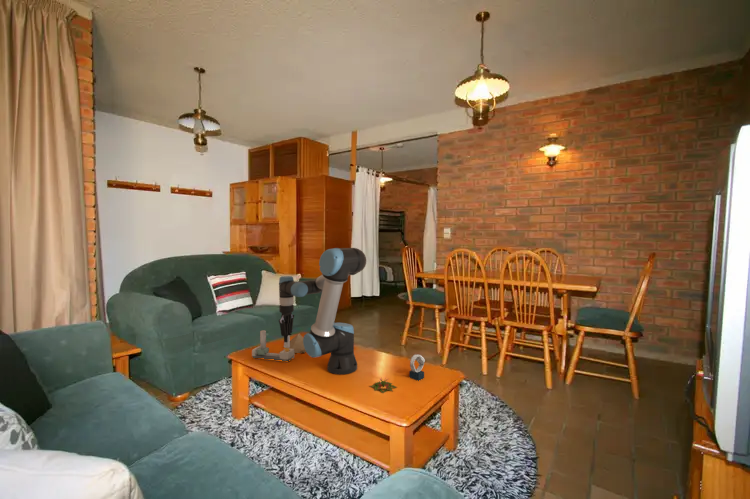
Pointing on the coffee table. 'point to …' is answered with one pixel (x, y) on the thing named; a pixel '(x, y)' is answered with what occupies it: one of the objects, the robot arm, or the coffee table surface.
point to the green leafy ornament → (383, 383)
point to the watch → (417, 373)
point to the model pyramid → (297, 344)
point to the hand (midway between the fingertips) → (286, 347)
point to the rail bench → (274, 355)
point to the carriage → (263, 343)
